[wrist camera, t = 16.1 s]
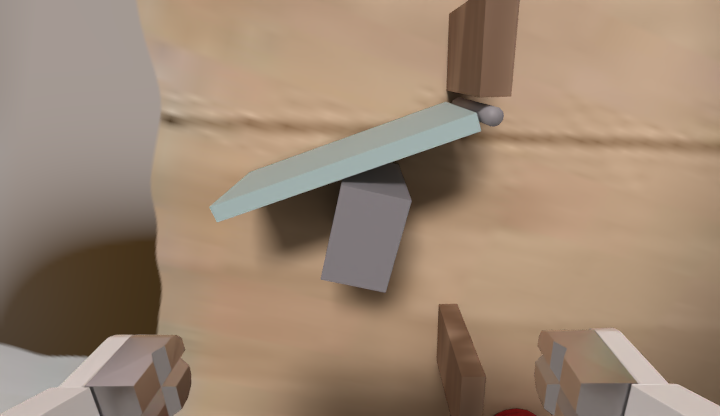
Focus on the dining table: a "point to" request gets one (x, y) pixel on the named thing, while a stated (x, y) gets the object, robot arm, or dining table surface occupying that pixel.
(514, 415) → the plastic cup
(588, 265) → the dining table surface
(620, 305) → the dining table surface
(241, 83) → the dining table surface
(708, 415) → the robot arm
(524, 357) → the dining table surface
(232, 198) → the door
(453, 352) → the wooden blocks
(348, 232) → the block
